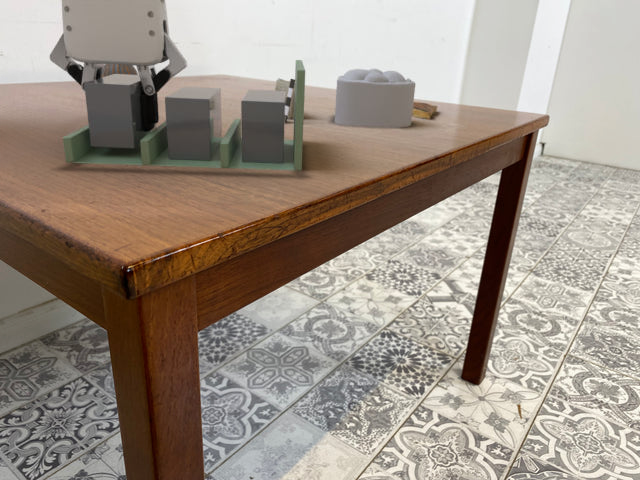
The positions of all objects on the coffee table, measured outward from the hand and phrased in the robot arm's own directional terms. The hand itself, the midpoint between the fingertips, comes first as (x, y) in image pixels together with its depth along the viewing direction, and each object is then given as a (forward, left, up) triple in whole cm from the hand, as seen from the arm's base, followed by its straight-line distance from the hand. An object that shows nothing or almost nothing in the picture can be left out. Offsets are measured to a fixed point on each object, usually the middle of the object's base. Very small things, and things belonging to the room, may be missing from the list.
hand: (125, 126), depth 59 cm
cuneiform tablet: (+18, +31, -4) cm, 36 cm away
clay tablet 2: (+16, 0, -2) cm, 16 cm away
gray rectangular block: (0, 0, -1) cm, 1 cm away
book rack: (+8, 0, -3) cm, 9 cm away
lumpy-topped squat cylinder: (+33, +29, -4) cm, 44 cm away
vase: (-12, +39, -4) cm, 41 cm away
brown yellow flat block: (+45, +41, -4) cm, 61 cm away
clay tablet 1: (+8, 0, -2) cm, 8 cm away
